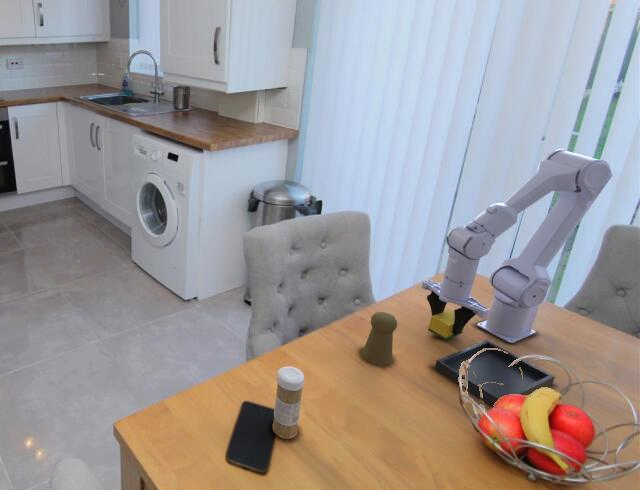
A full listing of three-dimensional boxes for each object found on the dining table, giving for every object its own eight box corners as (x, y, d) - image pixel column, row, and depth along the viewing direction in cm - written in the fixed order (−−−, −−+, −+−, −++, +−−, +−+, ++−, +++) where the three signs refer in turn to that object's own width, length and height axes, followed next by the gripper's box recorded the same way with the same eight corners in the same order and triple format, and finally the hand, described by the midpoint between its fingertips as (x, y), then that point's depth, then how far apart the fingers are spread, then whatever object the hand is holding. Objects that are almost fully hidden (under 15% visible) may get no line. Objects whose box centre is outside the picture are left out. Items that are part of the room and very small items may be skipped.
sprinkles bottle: (285, 418, 93) (291, 362, 88) (302, 434, 89) (310, 377, 84) (266, 426, 91) (272, 370, 86) (283, 444, 88) (290, 386, 82)
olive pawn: (385, 348, 111) (393, 308, 107) (396, 366, 106) (405, 324, 102) (358, 347, 112) (365, 307, 108) (367, 365, 106) (375, 323, 102)
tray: (484, 347, 111) (486, 339, 110) (551, 385, 99) (555, 376, 98) (434, 368, 105) (436, 360, 104) (500, 411, 93) (503, 402, 92)
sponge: (444, 323, 118) (448, 309, 117) (462, 333, 114) (466, 319, 113) (427, 330, 116) (431, 316, 114) (445, 340, 112) (449, 325, 111)
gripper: (417, 267, 114) (407, 316, 120) (479, 297, 102) (465, 349, 107) (438, 261, 117) (426, 309, 122) (501, 289, 105) (485, 340, 110)
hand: (446, 327), depth 115 cm, fingers closed on sponge, 4 cm apart
